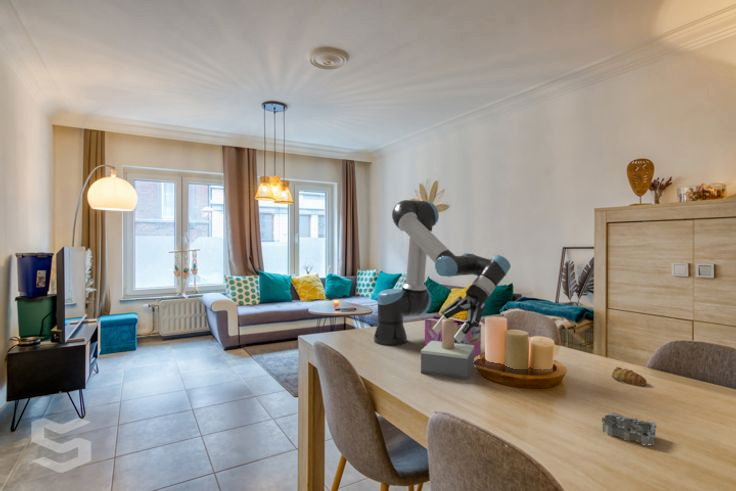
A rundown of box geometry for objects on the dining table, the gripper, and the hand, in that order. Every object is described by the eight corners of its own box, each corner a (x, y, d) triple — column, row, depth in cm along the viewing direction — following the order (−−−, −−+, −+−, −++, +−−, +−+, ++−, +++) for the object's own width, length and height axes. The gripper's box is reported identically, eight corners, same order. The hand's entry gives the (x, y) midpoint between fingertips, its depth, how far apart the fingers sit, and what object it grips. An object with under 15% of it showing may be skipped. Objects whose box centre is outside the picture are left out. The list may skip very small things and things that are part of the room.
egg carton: (599, 434, 94) (599, 417, 94) (606, 423, 100) (606, 407, 100) (653, 450, 87) (653, 431, 87) (658, 437, 92) (658, 420, 92)
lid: (431, 343, 149) (431, 314, 149) (474, 347, 143) (474, 318, 142) (420, 353, 136) (420, 321, 136) (467, 358, 130) (467, 325, 130)
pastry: (651, 384, 126) (651, 373, 126) (639, 389, 122) (639, 377, 122) (620, 375, 134) (620, 364, 134) (609, 379, 131) (609, 368, 131)
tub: (431, 361, 149) (431, 343, 149) (474, 367, 143) (474, 347, 143) (420, 373, 137) (420, 353, 136) (467, 379, 130) (467, 358, 130)
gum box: (421, 350, 165) (421, 318, 165) (433, 346, 170) (433, 315, 170) (470, 363, 147) (470, 327, 147) (481, 359, 152) (481, 324, 152)
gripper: (509, 302, 133) (473, 351, 128) (465, 293, 157) (433, 333, 151) (497, 287, 131) (459, 336, 126) (454, 280, 154) (421, 321, 149)
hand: (445, 335), depth 139 cm, fingers open, 13 cm apart
